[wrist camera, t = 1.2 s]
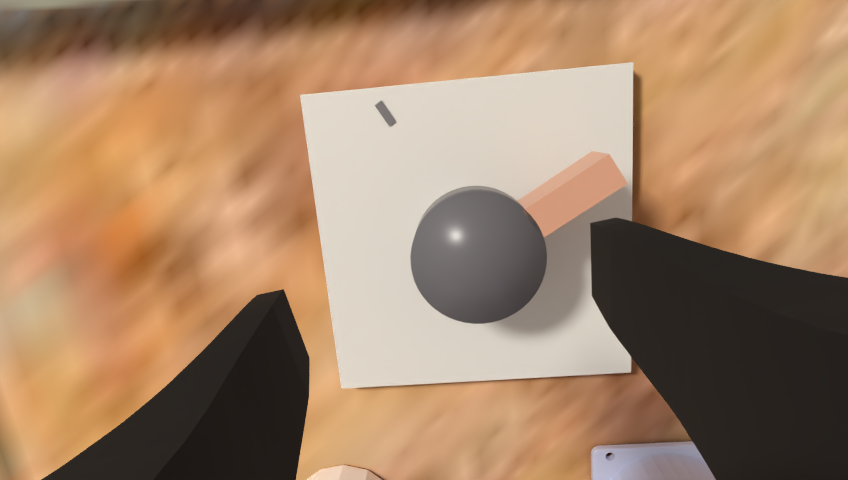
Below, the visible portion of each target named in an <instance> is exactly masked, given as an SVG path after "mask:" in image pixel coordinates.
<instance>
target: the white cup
mask: <svg viewBox="0 0 848 480" xmlns="http://www.w3.org/2000/svg"><path fill="white" fill-rule="evenodd" d="M306 480H382V479H380V478H379V477H378V476H376V475H375V474H373V473H372V472H370V471H369V470H366V469H362V468H357V467H352V466H347V465H340V466H334V467H329V468H324V469H320V470H319V471H317V472H316V473H315V474H313V475H312V476H310V477H309V478H308V479H306Z"/></svg>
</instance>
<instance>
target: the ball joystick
mask: <svg viewBox="0 0 848 480" xmlns="http://www.w3.org/2000/svg"><path fill="white" fill-rule="evenodd" d="M627 184H628V183H627V182H626V180H625V178H624V177H623V175H622V174H621V172H620V170H619V169H618V167H617V165H616V164H615V162H614V161H613V159H612V157H611V156H610V154H607V153H601V152H595V151H591V152H590V153H588V154H587V155H585V156H584V157H582V158H581V159H579V160H578V161H576V162H575V163H573V164H572V165H570V166H569V167H567V168H566V169H564V170H563V171H561V172H560V173H558V174H557V175H555V176H554V177H552V178H551V179H549V180H548V181H546V182H545V183H543V184H542V185H540V186H539V187H537V188H536V189H534V190H533V191H531V192H530V193H528V194H527V195H525V196H524V197H522V198H521V199H519V200H518V201H517V200H515V199H514V198H513V197H511V196H510V195H508V194H506V193H505V192H503V191H500V190H498V189H495V188H491V187H486V186H467V187H461V188H458V189H455V190H452V191H450V192H448V193H446V194H444V195H443V196H441V197H439V198H438V199H437V200H436V201H434V202H433V203H432V204H431V205H430V206H429V207H428V209H427V210H426V211H425V213H424V214H423V216H422V218H421V220H420V222H419V224H418V227H417V230H416V233H415V236H414V239H413V243H412V247H411V256H410V260H411V270H412V275H413V278H414V281H415V284H416V286H417V288H418V290H419V291H420V293H421V295H422V296H423V297H424V299H425V300H426V301H427V302H428V303H429V304H430V305H431V306H432V307H433V308H434V309H436V310H437V311H438V312H440V313H441V314H443V315H445V316H447V317H449V318H451V319H454V320H456V321H460V322H464V323H472V324H484V323H491V322H495V321H499V320H502V319H505V318H507V317H509V316H511V315H513V314H515V313H516V312H518V311H519V310H521V309H522V308H523V307H524V306H525V305H526V304H527V303H529V301H530V300H531V299H532V298H533V297H534V295H535V294H536V292H537V291H538V289H539V287H540V285H541V283H542V281H543V278H544V275H545V271H546V265H547V251H546V244H545V240H544V237H546V236H547V235H549V234H550V233H552V232H553V231H555V230H557V229H558V228H560V227H561V226H563V225H564V224H566V223H567V222H569V221H571V220H572V219H574V218H575V217H577V216H578V215H580V214H581V213H583V212H585V211H586V210H588V209H589V208H591V207H592V206H594V205H595V204H597V203H599V202H600V201H602V200H603V199H605V198H606V197H608V196H609V195H611V194H613V193H614V192H616V191H617V190H619V189H620V188H622V187H623V186H625V185H627Z"/></svg>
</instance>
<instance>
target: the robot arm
mask: <svg viewBox="0 0 848 480" xmlns="http://www.w3.org/2000/svg"><path fill="white" fill-rule="evenodd" d="M590 236H591V283H592V297H593V299H594V301H595V303H596V305H597V306H598V308H599V310H600V312H601V314H602V316H603V317H604V319H605V321H606V322H607V324H608V326H609V328H610V329H611V331H612V332H613V333H614V335H615V336H616V337H617V339H618V340H619V341H620V343H621V344H622V345H623V347H624V348H625V349H626V351H627V352H628V353H629V355H630V356H631V357H632V358H633V360H634V361H635V362H636V364H637V365H638V366H639V367H640V369H641V370H642V371H643V373H644V374H645V375H646V376H647V378H648V379H649V380H650V382H651V383H652V384H653V386H654V387H655V388H656V389H657V391H658V392H659V393H660V395H661V396H662V397H663V398H664V400H665V401H666V402H667V404H668V405H669V406H670V408H671V409H672V411H673V412H674V413H675V415H676V416H677V418H678V419H679V420H680V422H681V423H682V425H683V427H684V428H685V430H686V431H687V433H688V435H689V436H690V438H691V440H692V441H687V442H665V443H644V444H622V445H600V446H596V447H594V448H593V449H592V451H591V480H848V278H845V277H839V276H833V275H827V274H821V273H815V272H810V271H805V270H801V269H796V268H791V267H786V266H781V265H777V264H772V263H768V262H764V261H760V260H756V259H752V258H748V257H744V256H741V255H737V254H734V253H730V252H726V251H723V250H719V249H716V248H713V247H709V246H706V245H703V244H700V243H697V242H693V241H690V240H687V239H684V238H681V237H678V236H675V235H672V234H669V233H666V232H663V231H660V230H657V229H654V228H651V227H648V226H645V225H642V224H639V223H636V222H632V221H629V220H625V219H621V218H611V219H606V220H602V221H597V222H592V223H590ZM308 398H309V356H308V353H307V350H306V348H305V345H304V342H303V340H302V337H301V334H300V332H299V329H298V326H297V324H296V321H295V318H294V316H293V313H292V310H291V308H290V305H289V302H288V300H287V297H286V295H285V292H284V289H283V290H279V291H274V292H269V293H265V294H260V295H257V296H256V297H255V298H253V299H252V300H251V301H250V302H249V303H248V304H247V305H246V306H245V307H244V308H243V309H242V310H241V311H240V312H239V313H238V315H237V316H236V317H235V318H234V319H233V320H232V321H231V322H230V323H229V324H228V325H227V326H226V327H225V328H224V329H223V330H222V331H221V332H220V334H219V335H218V336H217V337H216V338H215V339H214V340H213V341H212V342H211V343H210V344H209V345H208V346H207V347H206V348H205V349H204V350H203V351H202V352H201V353H200V354H199V355H198V356H197V357H196V358H195V359H194V360H193V361H192V362H191V363H190V364H189V365H188V366H187V367H186V368H185V369H184V370H183V371H181V372H180V373H179V374H178V375H177V376H176V377H175V378H174V379H173V380H172V381H171V382H170V383H169V384H168V385H167V386H166V387H165V388H163V389H162V390H161V391H160V392H159V393H158V394H157V395H155V396H154V397H153V398H152V399H151V400H150V401H148V402H147V403H146V404H145V405H144V406H142V407H141V408H140V409H139V410H137V411H136V412H135V413H134V414H133V415H131V416H130V417H129V418H128V419H126V420H125V421H124V422H123V423H121V424H120V425H119V426H117V427H116V428H115V429H113V430H112V431H111V432H109V433H108V434H106V435H105V436H104V437H102V438H101V439H100V440H98V441H97V442H95V443H94V444H93V445H91V446H90V447H88V448H87V449H86V450H84V451H83V452H81V453H80V454H79V455H77V456H76V457H75V458H73V459H72V460H70V461H69V462H68V463H66V464H65V465H63V466H62V467H60V468H59V469H57V470H56V471H54V472H53V473H51V474H49V475H48V476H46V477H45V478H43V479H42V480H296V474H297V468H298V462H299V455H300V449H301V443H302V437H303V431H304V425H305V418H306V412H307V405H308ZM607 453H612V454H611V455H610V456H606V454H607Z"/></svg>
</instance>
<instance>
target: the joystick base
mask: <svg viewBox="0 0 848 480" xmlns="http://www.w3.org/2000/svg"><path fill="white" fill-rule="evenodd" d="M300 98H301V105H302V112H303V119H304V126H305V133H306V140H307V147H308V155H309V162H310V169H311V176H312V183H313V190H314V197H315V204H316V211H317V219H318V226H319V233H320V240H321V247H322V254H323V261H324V268H325V275H326V282H327V290H328V297H329V304H330V311H331V318H332V325H333V332H334V339H335V346H336V354H337V361H338V368H339V375H340V382H341V389H342V388H360V387H378V386H396V385H414V384H432V383H450V382H468V381H486V380H504V379H522V378H540V377H558V376H576V375H594V374H612V373H630V372H631V356H630V355H629V353H628V352H627V351H626V349H625V348H624V347H623V345H622V344H621V343H620V341H619V340H618V339H617V337H616V336H615V335H614V333H613V332H612V331H611V329H610V328H609V326H608V324H607V322H606V321H605V319H604V317H603V316H602V314H601V312H600V310H599V308H598V306H597V305H596V303H595V301H594V299H593V297H592V283H591V236H590V223H592V222H597V221H602V220H606V219H611V218H621V219H625V220H629V221H632V169H633V62H632V63H621V64H611V65H601V66H591V67H581V68H571V69H560V70H550V71H540V72H530V73H520V74H509V75H499V76H489V77H479V78H469V79H458V80H448V81H438V82H428V83H418V84H407V85H397V86H387V87H377V88H367V89H356V90H346V91H336V92H326V93H316V94H305V95H300ZM591 151H595V152H601V153H607V154H610V156H611V157H612V159H613V161H614V162H615V164H616V165H617V167H618V169H619V170H620V172H621V174H622V175H623V177H624V178H625V180H626V182H627V183H628V184H627V185H625V186H623V187H622V188H620V189H619V190H617V191H616V192H614V193H613V194H611V195H609V196H608V197H606V198H605V199H603V200H602V201H600V202H599V203H597V204H595V205H594V206H592V207H591V208H589V209H588V210H586V211H585V212H583V213H581V214H580V215H578V216H577V217H575V218H574V219H572V220H571V221H569V222H567V223H566V224H564V225H563V226H561V227H560V228H558V229H557V230H555V231H553V232H552V233H550V234H549V235H547V236H546V237H544V240H545V244H546V251H547V265H546V271H545V275H544V278H543V281H542V283H541V285H540V287H539V289H538V291H537V292H536V294H535V295H534V297H533V298H532V299H531V300H530V301H529V303H527V304H526V305H525V306H524V307H523V308H522V309H521V310H519V311H518V312H516V313H515V314H513V315H511V316H509V317H507V318H505V319H502V320H499V321H495V322H491V323H484V324H472V323H464V322H460V321H456V320H454V319H451V318H449V317H447V316H445V315H443V314H441V313H440V312H438V311H437V310H436V309H434V308H433V307H432V306H431V305H430V304H429V303H428V302H427V301H426V300H425V299H424V297H423V296H422V295H421V293H420V291H419V290H418V288H417V286H416V284H415V281H414V278H413V275H412V270H411V260H410V256H411V247H412V243H413V239H414V236H415V233H416V230H417V227H418V224H419V222H420V220H421V218H422V216H423V214H424V213H425V211H426V210H427V209H428V207H429V206H430V205H431V204H432V203H433V202H434V201H436V200H437V199H438V198H439V197H441V196H443V195H444V194H446V193H448V192H450V191H452V190H455V189H458V188H461V187H467V186H486V187H491V188H495V189H498V190H500V191H503V192H505V193H506V194H508V195H510V196H511V197H513V198H514V199H515V200H517V201H518V200H519V199H521V198H522V197H524V196H525V195H527V194H528V193H530V192H531V191H533V190H534V189H536V188H537V187H539V186H540V185H542V184H543V183H545V182H546V181H548V180H549V179H551V178H552V177H554V176H555V175H557V174H558V173H560V172H561V171H563V170H564V169H566V168H567V167H569V166H570V165H572V164H573V163H575V162H576V161H578V160H579V159H581V158H582V157H584V156H585V155H587V154H588V153H590V152H591Z"/></svg>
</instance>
